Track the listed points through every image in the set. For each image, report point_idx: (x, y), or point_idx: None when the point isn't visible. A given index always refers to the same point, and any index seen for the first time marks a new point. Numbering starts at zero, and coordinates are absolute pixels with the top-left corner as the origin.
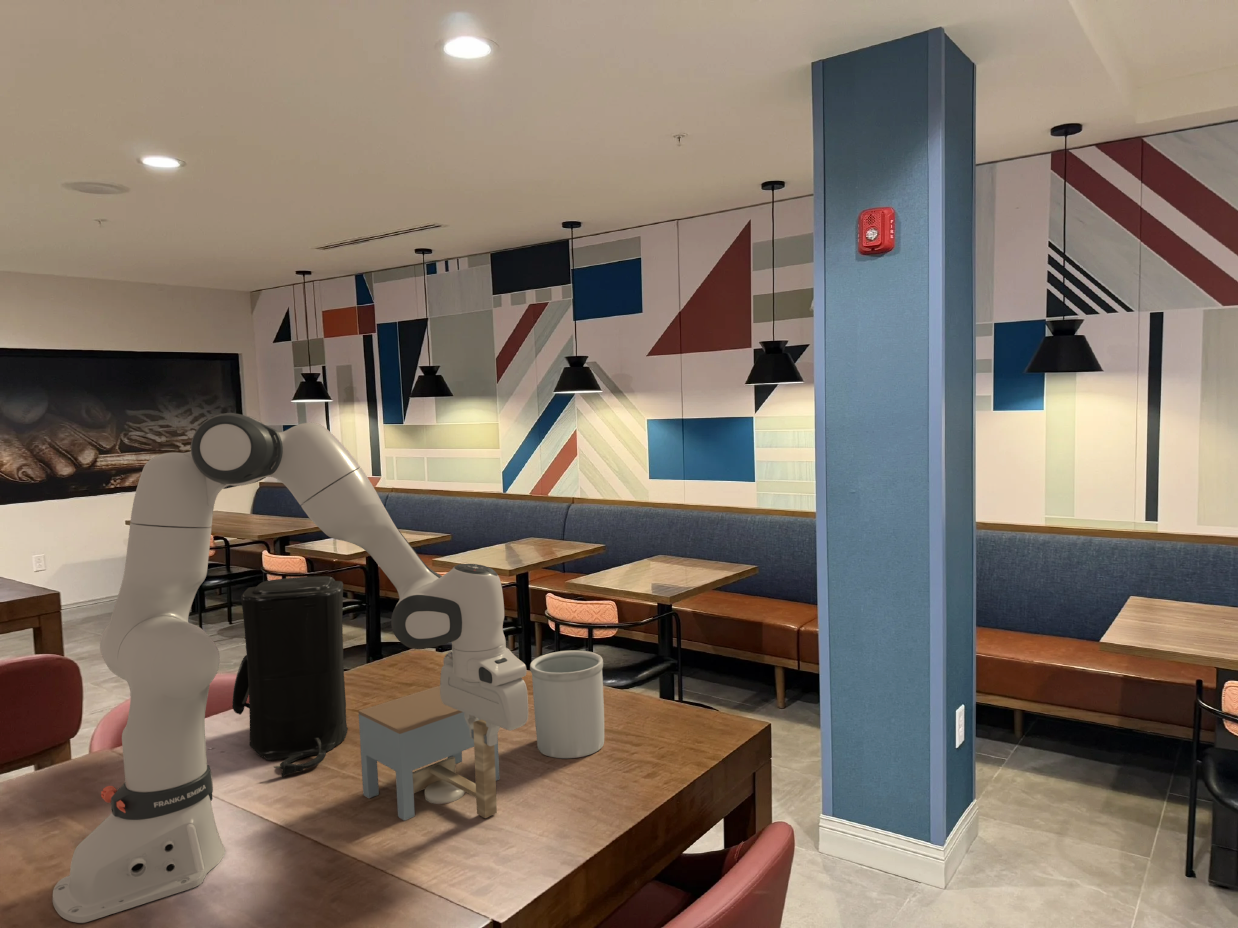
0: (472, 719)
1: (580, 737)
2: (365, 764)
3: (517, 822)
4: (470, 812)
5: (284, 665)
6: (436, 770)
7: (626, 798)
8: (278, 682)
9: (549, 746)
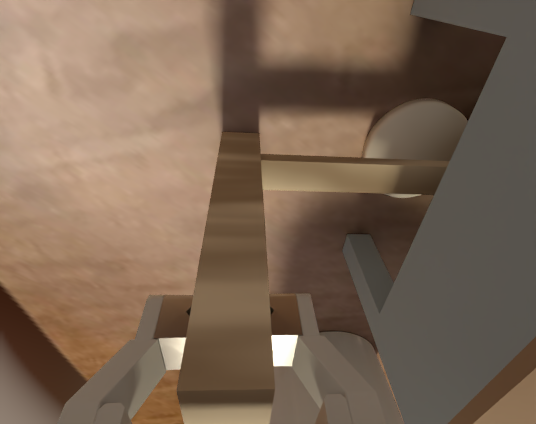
0: (328, 393)
1: (276, 386)
2: None
3: (156, 168)
4: (285, 130)
5: None
6: None
7: (99, 321)
8: None
9: None
